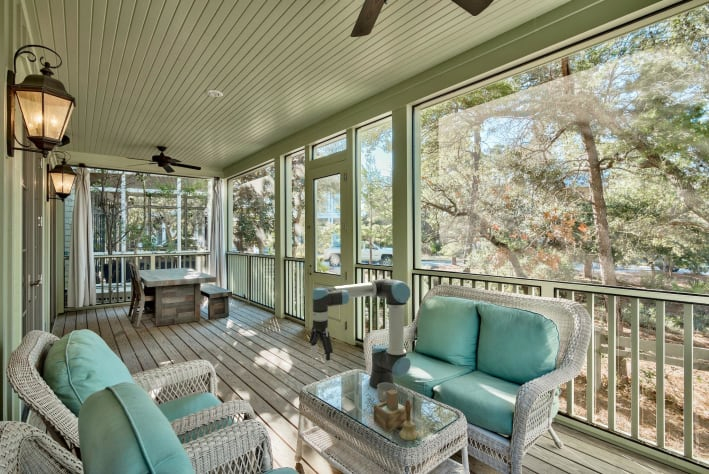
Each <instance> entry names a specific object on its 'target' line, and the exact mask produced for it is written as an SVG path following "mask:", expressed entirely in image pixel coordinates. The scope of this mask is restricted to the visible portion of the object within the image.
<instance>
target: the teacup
mask: <svg viewBox="0 0 709 474" xmlns="http://www.w3.org/2000/svg"><path fill="white" fill-rule="evenodd" d="M392 389H393V390H395V391H396V392H398V387H397V385H396V384H392V383H387V382H384V383H379V384H378V385H377V388H376V393H377V398H378V400H379V401H381V402H380V403H382V402H385V401H387V391H390V390H392Z"/></svg>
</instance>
